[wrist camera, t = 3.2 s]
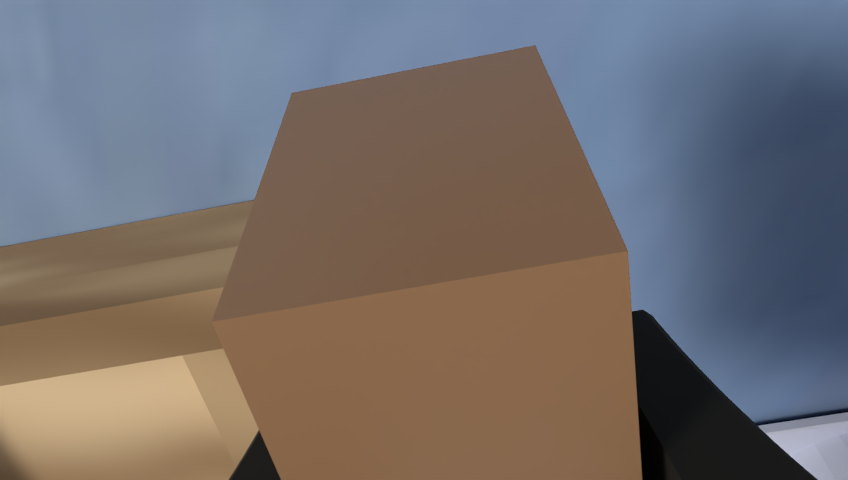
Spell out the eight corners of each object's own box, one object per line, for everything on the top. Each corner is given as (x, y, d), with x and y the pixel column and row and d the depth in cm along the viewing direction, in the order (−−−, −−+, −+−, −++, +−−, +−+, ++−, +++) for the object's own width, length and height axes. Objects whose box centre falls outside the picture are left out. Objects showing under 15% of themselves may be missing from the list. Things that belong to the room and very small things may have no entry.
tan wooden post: (596, 486, 13) (673, 778, 9) (419, 511, 14) (424, 805, 10) (547, 43, 9) (650, 247, 5) (291, 93, 9) (211, 321, 6)
